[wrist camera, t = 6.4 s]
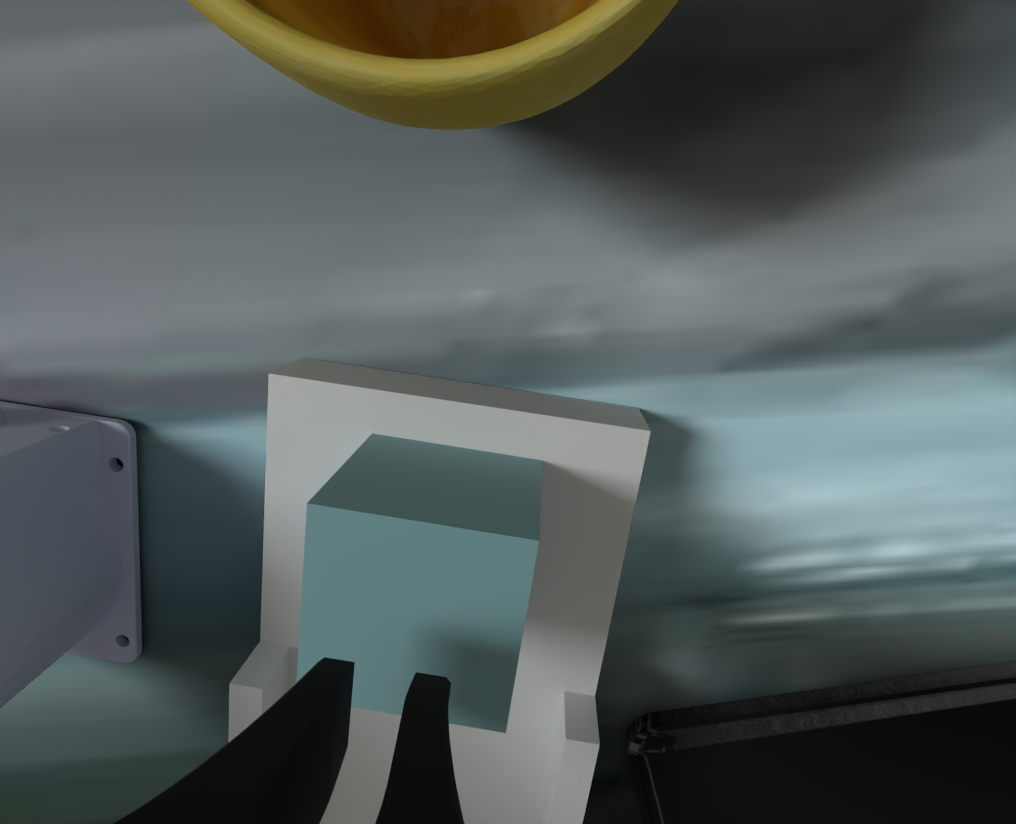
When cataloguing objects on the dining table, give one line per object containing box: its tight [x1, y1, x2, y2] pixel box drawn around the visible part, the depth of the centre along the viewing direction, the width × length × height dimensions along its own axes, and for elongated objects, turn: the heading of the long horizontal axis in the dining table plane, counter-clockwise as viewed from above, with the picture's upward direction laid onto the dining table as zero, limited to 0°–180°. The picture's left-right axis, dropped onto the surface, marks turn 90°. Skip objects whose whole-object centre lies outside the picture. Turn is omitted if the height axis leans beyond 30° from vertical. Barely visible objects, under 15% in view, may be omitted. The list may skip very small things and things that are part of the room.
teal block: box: [296, 433, 542, 733], centre depth 16 cm, size 5×5×5 cm
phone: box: [626, 661, 1016, 824], centre depth 23 cm, size 8×1×15 cm
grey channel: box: [228, 358, 651, 824], centre depth 21 cm, size 22×11×4 cm, turn 172°
